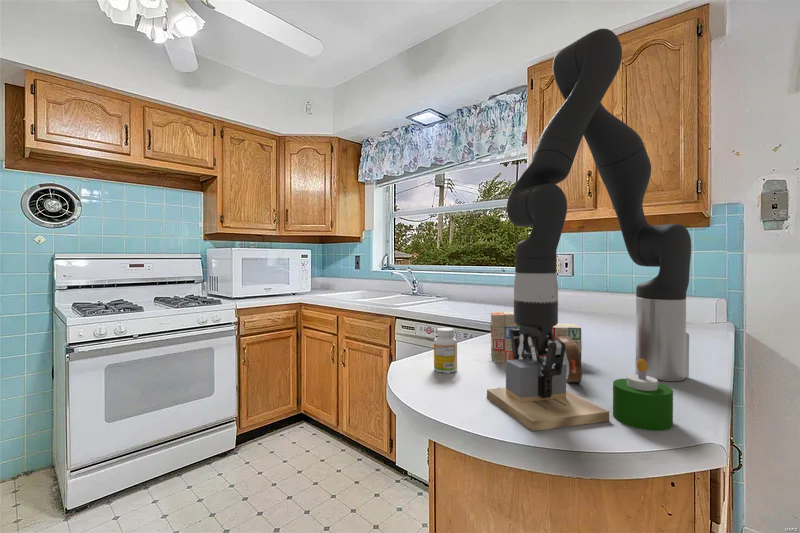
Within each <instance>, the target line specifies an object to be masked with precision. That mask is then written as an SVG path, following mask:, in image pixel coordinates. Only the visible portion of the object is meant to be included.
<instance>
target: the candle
mask: <svg viewBox="0 0 800 533" xmlns="http://www.w3.org/2000/svg"><path fill="white" fill-rule="evenodd" d="M637 369H638V374H628V375H627V376H626V378H617V379H615V380H614V381H613V382H612V417H613V418H614V420H616V421H618V422H619V423H621V424H623V425H625V426H628V427H631V428H633V429H639V430H644V431H653V432H657V431H658V432H661V431H662V432H664V431H668V430H670V429H672V428H674V427H673V426H674V390H673V389H672V388H671V387H670V386H668V385H666V384H663V383H661V382H659V380H657V379H655V378H653V377H650V376H646V370H647V363H646V361H645V360H644V359H640V360H639V361H638V363H637Z"/></svg>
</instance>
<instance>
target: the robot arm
mask: <svg viewBox="0 0 800 533" xmlns="http://www.w3.org/2000/svg"><path fill="white" fill-rule="evenodd" d="M622 47H623V46H622V44H621V41H620V39H619V37H618V36H617V35H616V33H614V31H613V30H611V29H608V28H598V29H596V30H593V31H591V32H589V33H587V34H585V35H583V36H581V37H580V38H579V39H577V40H574V41H573V42H572V43H570V44H569V45H567V46H565V47H563V48H561V50H559V51H558V52H557V53H556V54H555V56H554V59H553V60H552V61H553V62H552V73H553V77H554V78H553V79H554V80H555V83H556V86H557V88H558V90H559V92H560V94H561V96H562V97H563V99H564V102H563V104H562V105H561V106H560V107H559V109H557V111H556V113H554V115H553V116H552V118H551V119H550V120H549V122H548V123H547V125H546V127H545V128H544V129H543V131H542V133H541V135H540V137H539V139H538V142H537V144H536V146H535V150H534V153H533V156H532V159H531V160H530V163H529V165H528V166H527V168H526V169H525V170H524V171H523V172H522V174H521V176H520V178H519V179H518V180H517V181H516V183H515V185H514V186H513V188H512V189H511V192H510V193H509V196H508V199H507V203H506V215H507V216H508V219H509V221H510V222H511V223H512V224H513V225H515V226H517V227H520V228H529V227H531V231H530V234H529V236H528V237H527V238H526V239H523V240H521V241H519V242H518V243H516V246H515V252H514V255H515V256H514V265H515V266H514V271H515V273H514V282H513V312H514V322H515V323H516V324H518V325H520V328H519V329H513V330H511V331H510V334H511V343H512V351H513V359H514V360H518V359H533V362H534V363H536V365H537V366H538V375H539V376H538V396H539V397H541V398H550V397H551V395H552V377H553V376H556V375H561V371H562V365H563V359H564V353H565V347H566V346H565V343H564V342H557V341H556V340H554V336H553V332H552V328H553V327H554V326H556V325H557V324H558V323H559V282H558V275H557V269H558V268H557V260H558V259H557V249H558V247H559V246H558V245H559V243H560V240H561V237H562V232H563V229H564V225H565V222H566V218H567V214H568V200H567V196H566V194H565V193H564V191H563V189H562V188H561V187H560V186H559V185H557V184H559V183H561V182H563V181H564V180H566V179H567V177H568V176H569V174H570V172H571V170H572V166H573V163H574V160H575V158H576V156H577V153H578V150H579V146H580V144H581V141H582V139H583V137H584V140H585V142H586V143H587V147H588V149H589V151H590V152H591V155H592V159H593V161H594V164H595V167H596V169H597V172H598V174H599V176H600V179H601V180H602V183H603V185H604V187H605V189H606V191H607V194H608V196H609V198H610V201H611V204H612V206H613V210H614V213H615V215H616V217H617V220H618V224H619V227H620V231H621V234H622V237H623V241H624V244H625V248H626V250H627V253H628V256H629V257H630V259H631V261H632V262H633V263H634V264H636V265H638V266H641V267H649V268H651V267H655V268H658V267H659V271H658V274H657V275H656V276H655V277H653V278H652V279H650V280H648V281H645V282H644V281H643V282H641V283H639V284H638V283H637V285H636V287H635V288H636V289H635V373H636V375H638V369H637V363H638V361H639V360H640V359H644V360H645V361H646V363H647V370H646V376H650V377H653V378H655V379H657V380H658V381H666V382H680V381H684V380H686V378H689V377H690V334H689V333H688V332H687V293H688V292H687V291H688V287H689V284H690V271H691V260H692V259H691V257H692V238H691V235H690V232H689V230H688V229H687V228H686V226H684V225H683V224H680V223H670V224H657V225H650V224H649V223H648V220H647V218H646V216H645V212H644V208H643V202H644V198H645V195H646V192H647V188H648V186H649V182H650V179H651V175H652V163H651V160H650V157H649V154H648V152H647V149H646V146H645V144H644V142H643V140H642V137H641V136H640V134H638V132H636V131H635V130H634V129H633V128H631V127H630V125H628V124H626V123H625V122H624V121H623V120H621V119H619V118H618V117H616V116H615V115H613V114H612V113H611V112H610V111H609V110H608V109H606V108H605V106H604V105H603V104H602V100H603V98H604V97H605V95H606V93H607V92H608V89H609V88H610V86H611V85H612V83H613V81H614V79H615V77H616V75H617V74H618V71H619V70H620V67H621V64H622V60H623V48H622ZM518 341H519V342H518ZM518 347H519V349H518ZM518 353H519V354H518ZM546 354H547V357H546V358H540V357H539V356H545V355H546ZM543 362H545V369H544V368H543ZM553 364H555V368H554V367H553Z"/></svg>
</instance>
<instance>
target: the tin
mask: <svg viewBox="0 0 800 533" xmlns="http://www.w3.org/2000/svg"><path fill="white" fill-rule="evenodd" d="M555 340H556V341H557V342H564V343H565V346H566V347H565V353H564V359H563V363H565V364H566V383H579V384H580V383H582V379H583V367H582V365H583V364H582V356H581V357H580V352H579V349H578V346H577V344H576V343H575V342H574V341H573V340H572V339H571V338H570V337H569V336H559V337H556V339H555Z"/></svg>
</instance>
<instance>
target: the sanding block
mask: <svg viewBox="0 0 800 533" xmlns="http://www.w3.org/2000/svg"><path fill="white" fill-rule="evenodd" d="M544 358H546V357H544ZM553 367H554V368H555V364H553ZM543 368H544V369H545V362H543ZM538 376H539V375H538V366H537V365H536V363H534V362H533V359H518V360H506V362H505V388H506V393H507V394H508V395H510V396H511V397H513V398H514V399H516V400H517V401H519V402H520V403H521V402H530V401H540V400H549V399H559V398H566V390H567V381H566V364H565V363H563V365H562V371H561V375H556V376H553V377H552V395H551V397H550V398H541V397H539V396H538Z"/></svg>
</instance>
